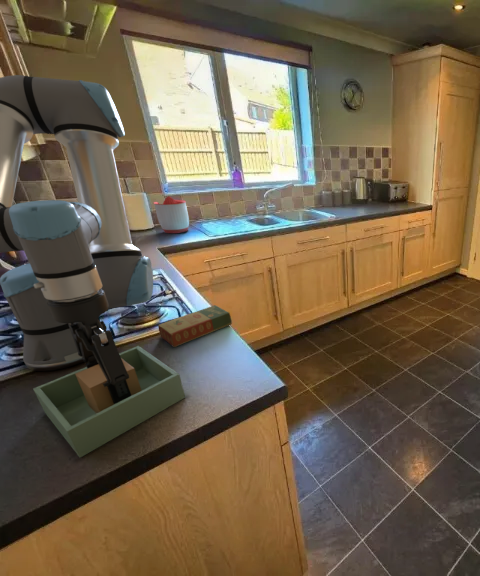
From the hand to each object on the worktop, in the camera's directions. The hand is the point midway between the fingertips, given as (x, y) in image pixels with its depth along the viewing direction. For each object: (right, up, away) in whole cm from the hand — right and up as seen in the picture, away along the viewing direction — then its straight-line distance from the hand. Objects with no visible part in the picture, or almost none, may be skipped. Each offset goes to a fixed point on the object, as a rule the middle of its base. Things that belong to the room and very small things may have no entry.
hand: (114, 396), depth 65 cm
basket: (0, -2, +1) cm, 2 cm away
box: (0, -2, +1) cm, 2 cm away
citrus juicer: (-68, +55, +125) cm, 152 cm away
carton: (+1, +9, +28) cm, 29 cm away
